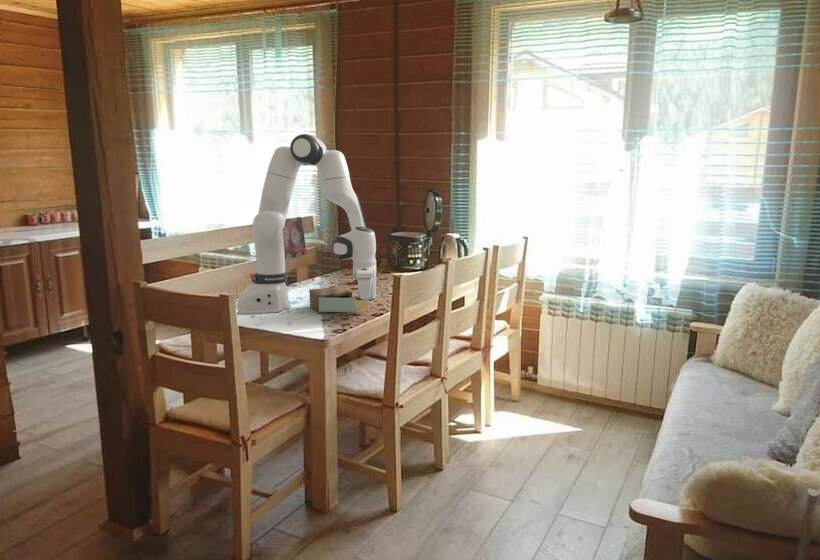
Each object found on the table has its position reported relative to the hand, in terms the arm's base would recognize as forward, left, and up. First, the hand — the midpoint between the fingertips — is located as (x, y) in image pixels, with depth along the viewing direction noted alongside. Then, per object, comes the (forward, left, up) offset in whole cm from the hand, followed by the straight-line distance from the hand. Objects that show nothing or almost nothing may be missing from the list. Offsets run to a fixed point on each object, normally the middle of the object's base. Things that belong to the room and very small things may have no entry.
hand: (365, 305), depth 241 cm
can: (+9, +23, -3) cm, 25 cm away
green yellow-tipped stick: (-17, +6, -3) cm, 18 cm away
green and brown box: (-10, +13, -3) cm, 16 cm away
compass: (+17, +53, -3) cm, 56 cm away
